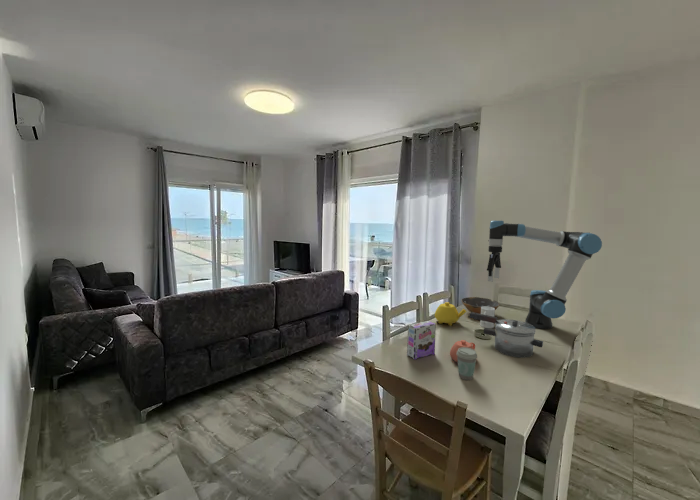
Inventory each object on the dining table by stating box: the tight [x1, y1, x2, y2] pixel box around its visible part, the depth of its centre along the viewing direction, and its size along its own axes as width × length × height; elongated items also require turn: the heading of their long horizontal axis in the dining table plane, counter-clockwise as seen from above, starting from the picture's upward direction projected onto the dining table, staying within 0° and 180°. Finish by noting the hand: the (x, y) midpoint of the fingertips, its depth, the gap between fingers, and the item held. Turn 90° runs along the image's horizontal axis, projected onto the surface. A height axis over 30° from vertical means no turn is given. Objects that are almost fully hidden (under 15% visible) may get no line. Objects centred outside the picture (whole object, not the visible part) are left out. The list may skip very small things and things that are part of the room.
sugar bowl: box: [449, 339, 476, 363], centre depth 149 cm, size 12×14×10 cm
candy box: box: [406, 320, 437, 360], centre depth 154 cm, size 14×6×16 cm, turn 117°
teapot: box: [434, 301, 467, 327], centre depth 201 cm, size 20×16×14 cm
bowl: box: [460, 296, 500, 314], centre depth 218 cm, size 25×25×10 cm
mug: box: [479, 306, 496, 329], centre depth 195 cm, size 12×8×12 cm
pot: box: [483, 325, 544, 358], centre depth 161 cm, size 28×19×12 cm, turn 49°
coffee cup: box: [456, 347, 478, 381], centre depth 133 cm, size 8×9×12 cm
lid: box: [469, 312, 537, 334], centre depth 164 cm, size 32×19×4 cm, turn 49°
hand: (493, 279), depth 188 cm, fingers open, 13 cm apart
